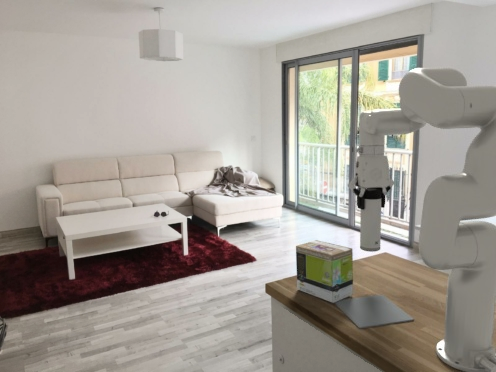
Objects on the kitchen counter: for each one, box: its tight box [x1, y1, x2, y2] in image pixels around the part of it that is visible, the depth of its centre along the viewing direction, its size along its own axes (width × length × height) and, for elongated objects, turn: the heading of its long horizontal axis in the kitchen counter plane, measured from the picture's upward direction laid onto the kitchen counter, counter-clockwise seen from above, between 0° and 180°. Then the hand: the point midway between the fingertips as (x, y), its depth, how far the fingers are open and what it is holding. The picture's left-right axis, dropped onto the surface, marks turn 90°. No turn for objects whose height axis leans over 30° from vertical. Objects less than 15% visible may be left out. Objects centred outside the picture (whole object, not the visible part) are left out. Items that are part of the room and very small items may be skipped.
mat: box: [333, 294, 415, 330], centre depth 117 cm, size 16×16×1 cm
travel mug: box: [359, 188, 383, 253], centre depth 132 cm, size 6×7×20 cm
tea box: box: [295, 239, 354, 304], centre depth 128 cm, size 15×10×15 cm, turn 38°
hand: (371, 207), depth 131 cm, fingers closed on travel mug, 6 cm apart
